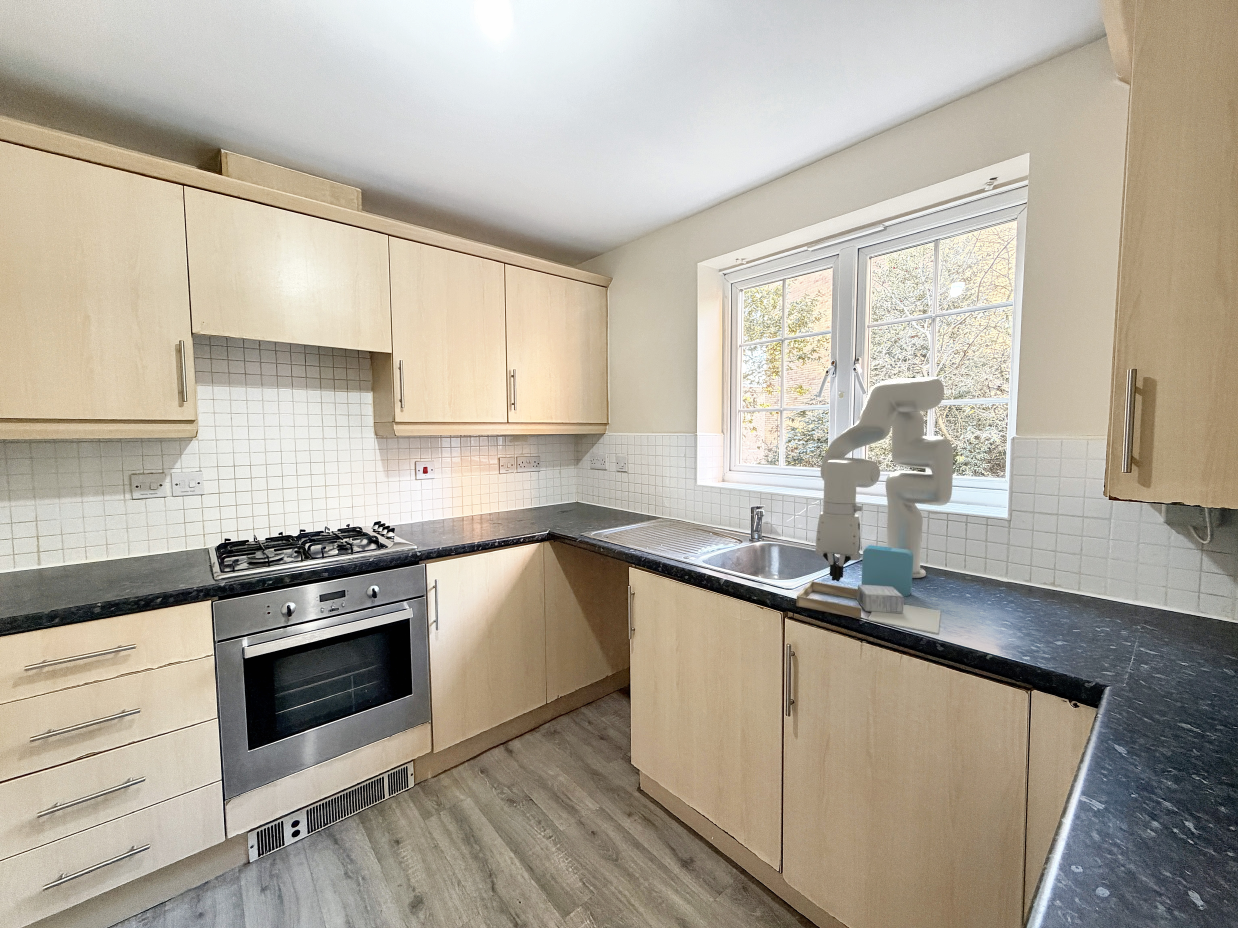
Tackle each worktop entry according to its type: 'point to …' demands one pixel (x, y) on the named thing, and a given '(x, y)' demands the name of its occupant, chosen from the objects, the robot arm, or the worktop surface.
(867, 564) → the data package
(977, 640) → the worktop surface
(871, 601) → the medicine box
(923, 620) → the cream flat board
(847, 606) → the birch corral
